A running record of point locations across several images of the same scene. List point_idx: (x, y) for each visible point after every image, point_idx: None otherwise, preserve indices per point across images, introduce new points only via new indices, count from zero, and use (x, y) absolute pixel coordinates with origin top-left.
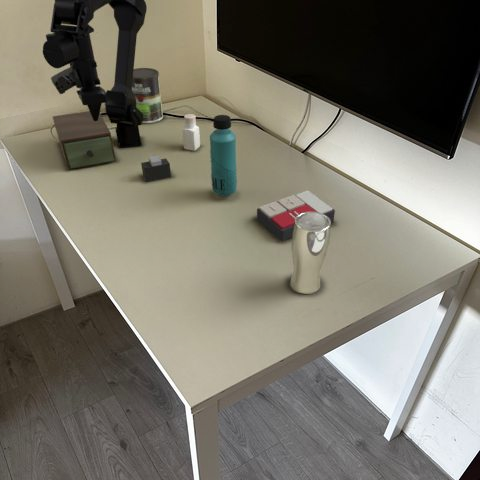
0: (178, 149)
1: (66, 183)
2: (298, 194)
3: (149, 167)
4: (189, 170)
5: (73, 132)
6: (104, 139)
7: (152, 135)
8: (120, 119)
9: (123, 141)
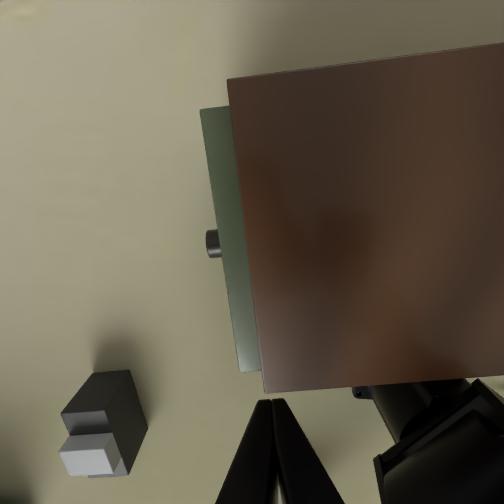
0: None
1: (116, 109)
2: None
3: (67, 426)
4: (147, 471)
5: (348, 187)
6: (236, 345)
7: None
8: (414, 455)
9: None
